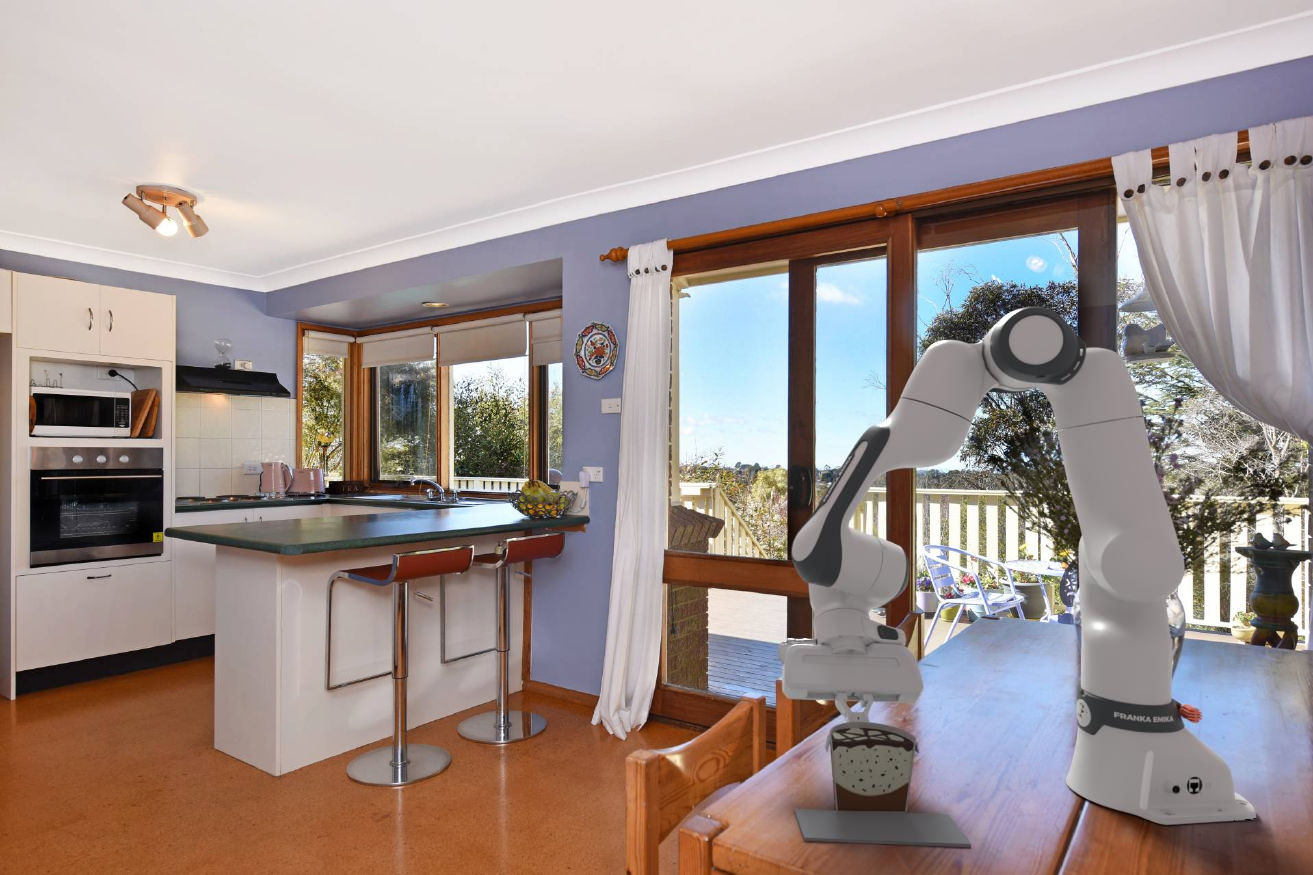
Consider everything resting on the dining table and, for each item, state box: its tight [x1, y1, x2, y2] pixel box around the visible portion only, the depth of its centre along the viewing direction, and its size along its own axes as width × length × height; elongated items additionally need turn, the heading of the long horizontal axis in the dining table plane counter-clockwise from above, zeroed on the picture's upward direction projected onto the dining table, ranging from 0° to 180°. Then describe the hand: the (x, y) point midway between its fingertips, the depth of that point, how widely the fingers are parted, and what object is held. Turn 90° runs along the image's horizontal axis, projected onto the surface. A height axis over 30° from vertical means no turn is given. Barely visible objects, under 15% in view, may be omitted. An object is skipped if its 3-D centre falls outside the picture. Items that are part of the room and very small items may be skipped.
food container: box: [824, 721, 920, 813], centre depth 104 cm, size 12×6×10 cm, turn 92°
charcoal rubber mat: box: [793, 808, 972, 848], centre depth 96 cm, size 20×8×1 cm, turn 89°
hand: (858, 726), depth 108 cm, fingers closed
